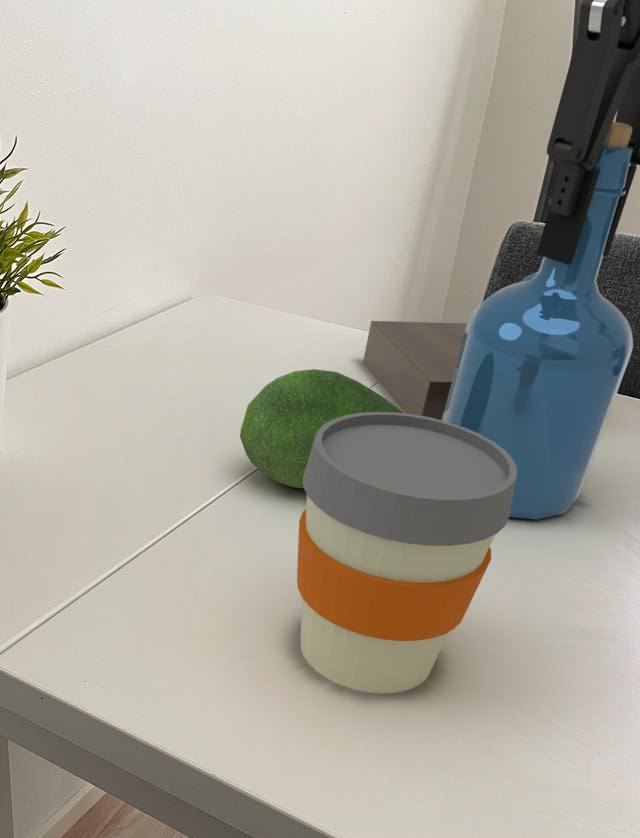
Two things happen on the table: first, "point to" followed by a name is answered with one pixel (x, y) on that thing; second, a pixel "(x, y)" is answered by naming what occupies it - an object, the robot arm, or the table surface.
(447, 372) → the walnut block
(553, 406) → the wine bottle
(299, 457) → the fruit
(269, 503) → the table surface
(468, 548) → the reusable coffee cup
